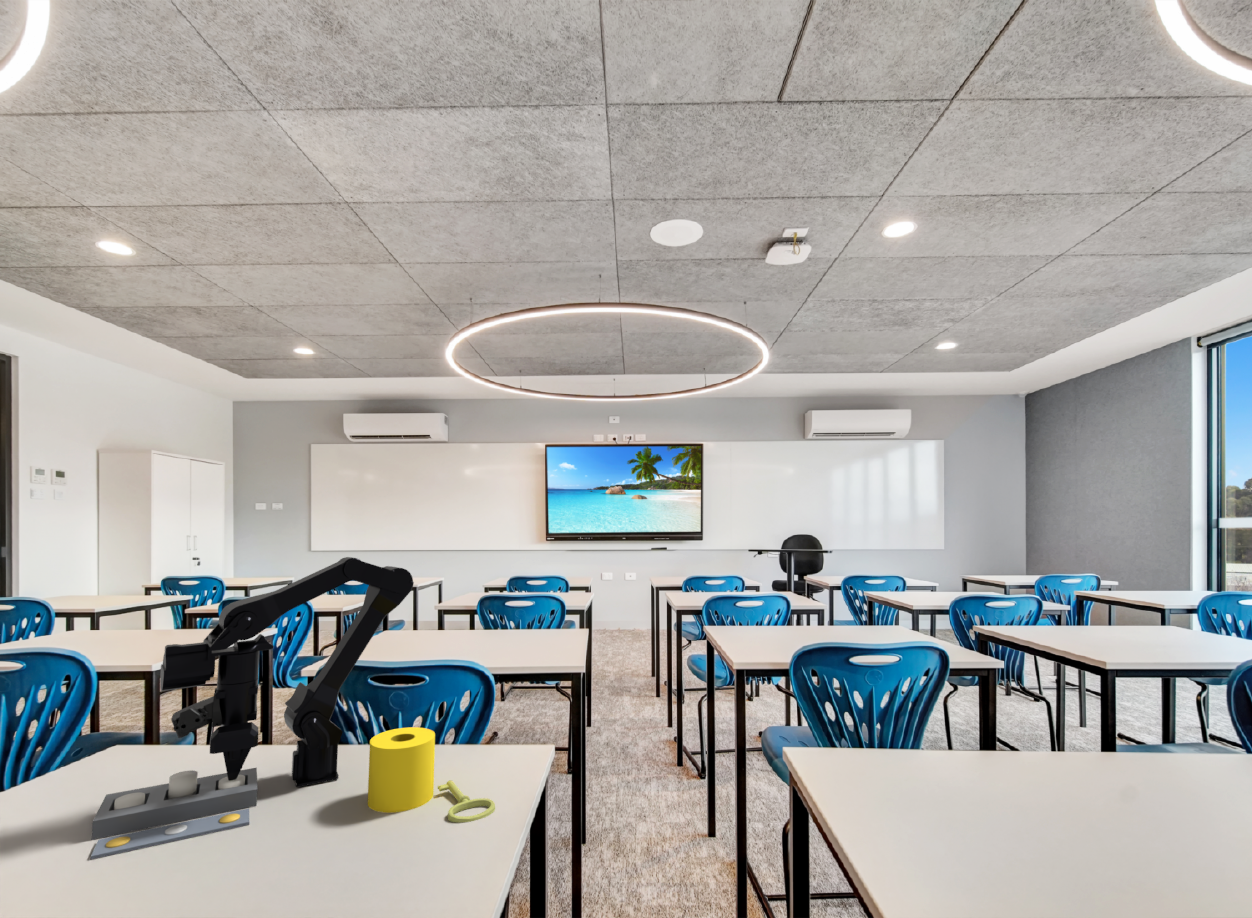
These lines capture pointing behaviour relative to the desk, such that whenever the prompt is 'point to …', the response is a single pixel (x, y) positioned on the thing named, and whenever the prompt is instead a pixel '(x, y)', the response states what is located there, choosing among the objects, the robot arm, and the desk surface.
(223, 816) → the pattern card
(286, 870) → the desk surface
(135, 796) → the button
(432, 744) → the yellow cylinder with hole
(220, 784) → the button
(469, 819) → the key
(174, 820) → the button panel
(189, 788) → the button middle
